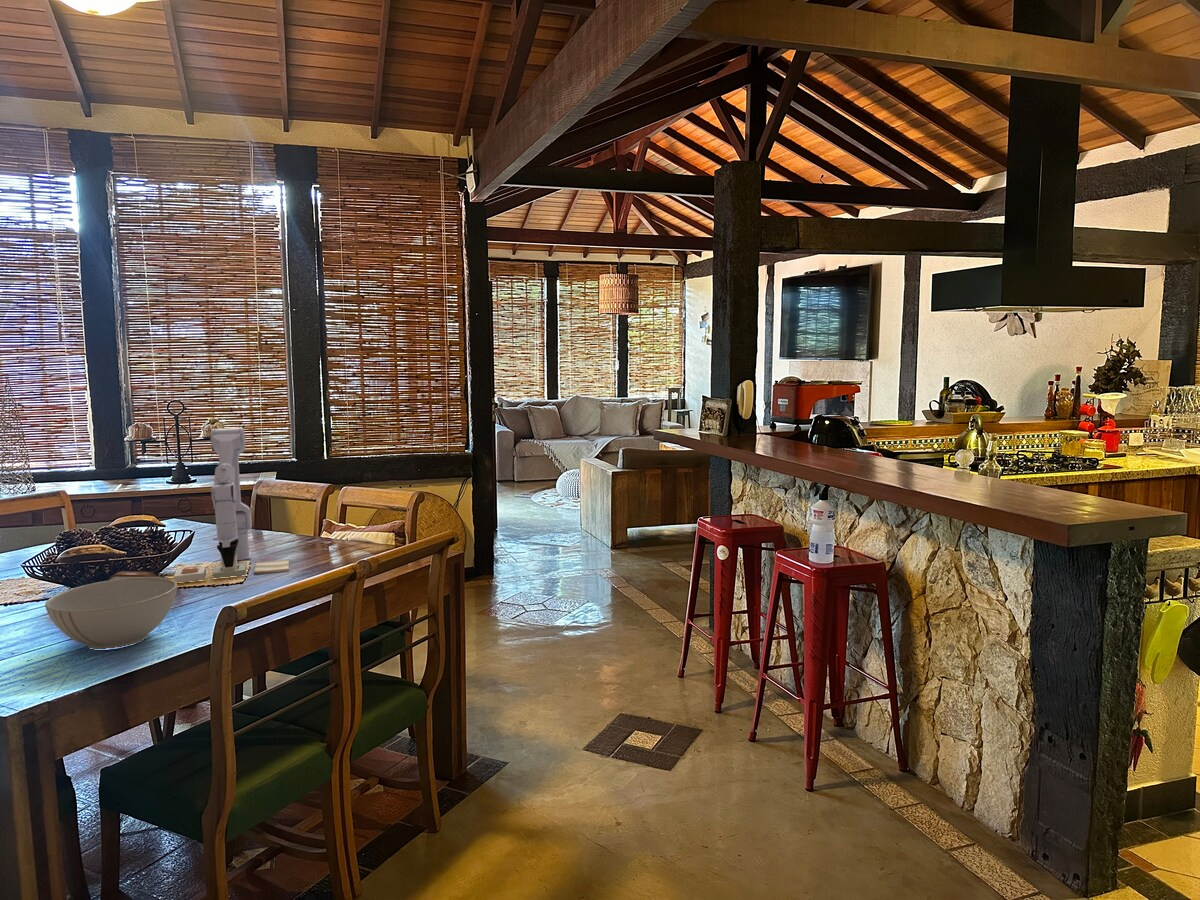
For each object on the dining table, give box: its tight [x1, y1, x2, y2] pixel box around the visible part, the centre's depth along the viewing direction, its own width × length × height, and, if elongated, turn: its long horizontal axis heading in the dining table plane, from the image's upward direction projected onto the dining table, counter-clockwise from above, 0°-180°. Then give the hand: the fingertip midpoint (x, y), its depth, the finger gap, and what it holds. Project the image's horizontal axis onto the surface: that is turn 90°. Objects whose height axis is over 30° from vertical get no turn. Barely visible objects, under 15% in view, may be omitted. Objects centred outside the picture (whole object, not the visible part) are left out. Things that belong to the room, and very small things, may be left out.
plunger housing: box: [173, 566, 207, 583], centre depth 242 cm, size 8×8×2 cm
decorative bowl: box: [44, 576, 178, 649], centre depth 189 cm, size 27×27×12 cm
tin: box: [107, 570, 158, 581], centre depth 221 cm, size 15×3×8 cm, turn 84°
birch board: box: [253, 559, 290, 576], centre depth 253 cm, size 12×10×1 cm
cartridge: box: [220, 550, 238, 571], centre depth 247 cm, size 4×4×7 cm
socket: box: [212, 562, 248, 579], centre depth 247 cm, size 9×9×2 cm
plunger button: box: [181, 566, 198, 574], centre depth 242 cm, size 4×4×3 cm
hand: (229, 565), depth 247 cm, fingers closed on cartridge, 4 cm apart
